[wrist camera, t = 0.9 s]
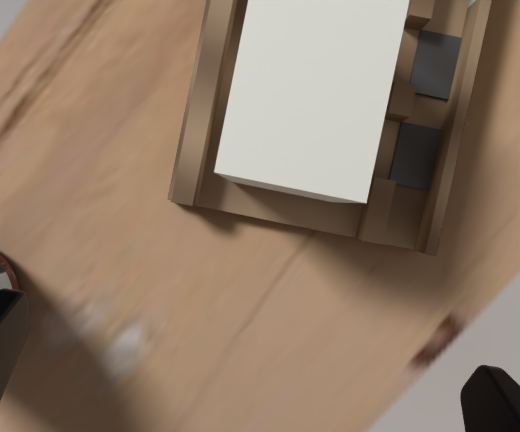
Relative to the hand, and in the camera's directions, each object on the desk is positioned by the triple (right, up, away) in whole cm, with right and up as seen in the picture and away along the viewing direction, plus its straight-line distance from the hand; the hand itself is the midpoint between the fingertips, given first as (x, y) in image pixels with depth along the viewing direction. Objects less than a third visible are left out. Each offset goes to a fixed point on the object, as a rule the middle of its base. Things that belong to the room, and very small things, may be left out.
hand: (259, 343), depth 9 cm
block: (+2, +8, +14) cm, 16 cm away
